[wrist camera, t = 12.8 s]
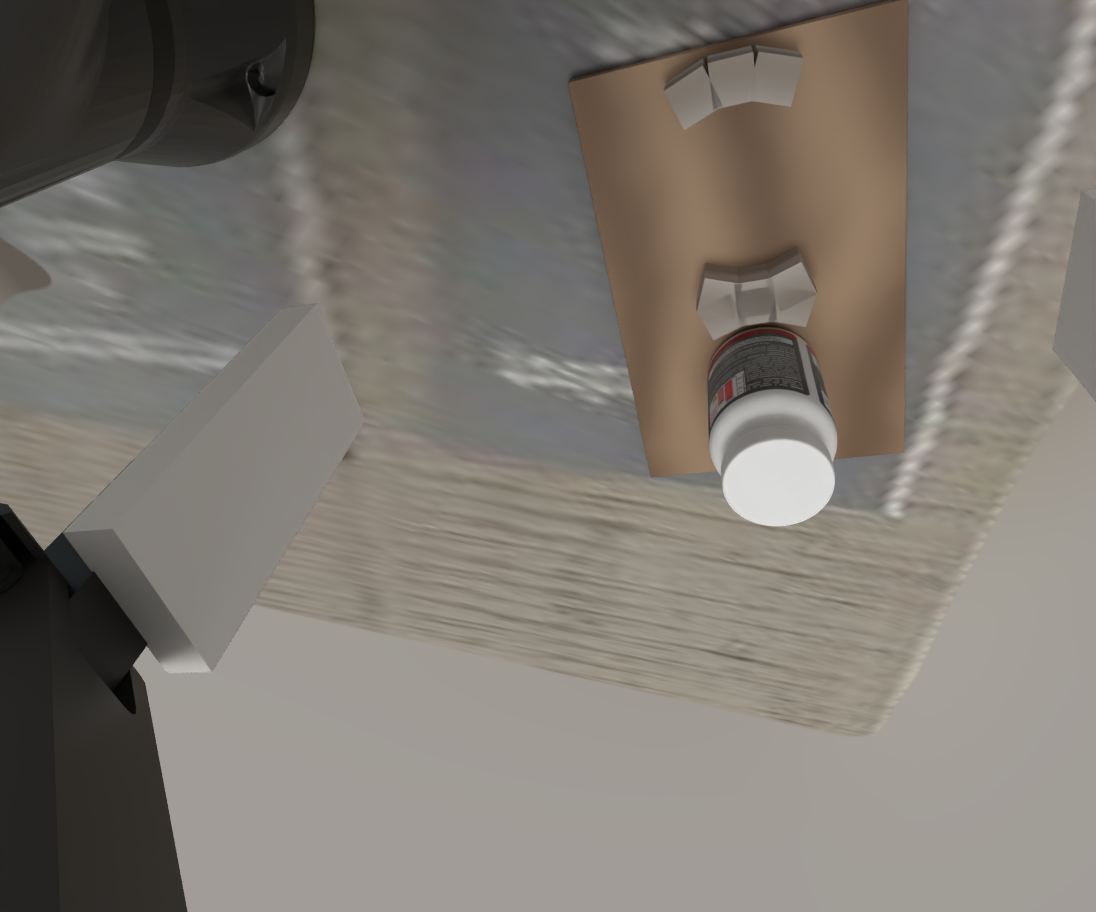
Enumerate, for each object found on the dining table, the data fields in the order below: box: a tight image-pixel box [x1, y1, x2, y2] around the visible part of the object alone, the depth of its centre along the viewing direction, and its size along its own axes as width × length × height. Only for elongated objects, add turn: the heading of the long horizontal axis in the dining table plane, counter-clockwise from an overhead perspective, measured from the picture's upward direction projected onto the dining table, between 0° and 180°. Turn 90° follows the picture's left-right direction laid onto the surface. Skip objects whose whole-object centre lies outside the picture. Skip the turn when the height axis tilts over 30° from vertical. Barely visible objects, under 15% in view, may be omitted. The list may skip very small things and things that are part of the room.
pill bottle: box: [707, 327, 837, 526], centre depth 36 cm, size 6×6×10 cm
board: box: [568, 0, 908, 477], centre depth 37 cm, size 14×22×3 cm, turn 14°
